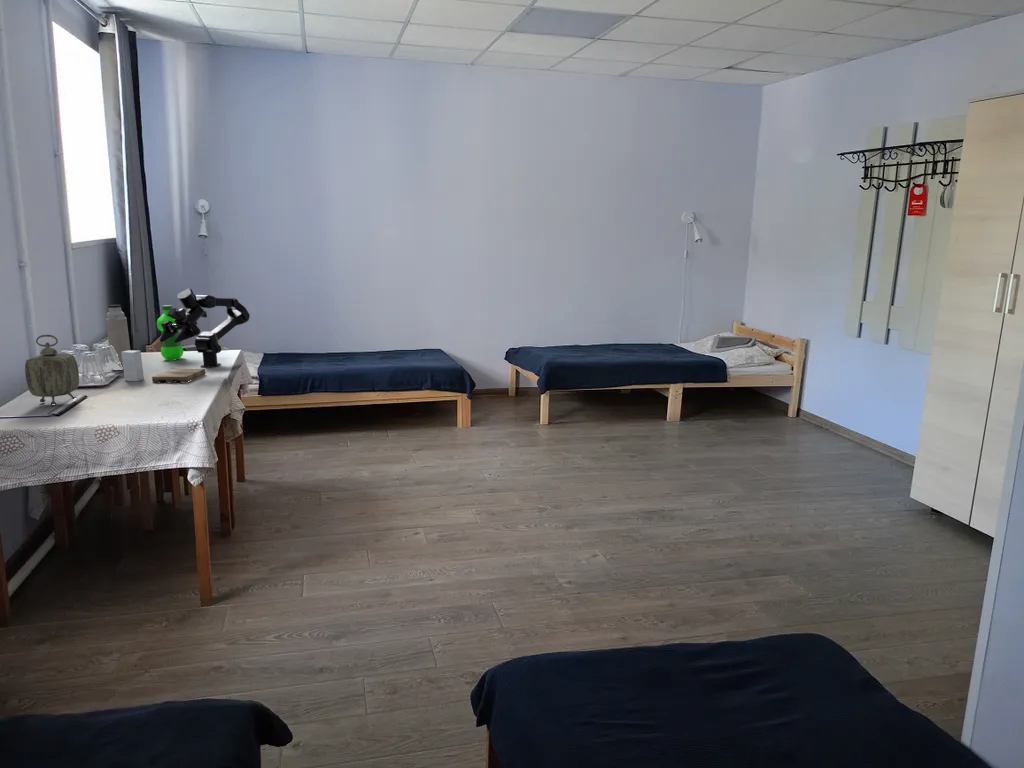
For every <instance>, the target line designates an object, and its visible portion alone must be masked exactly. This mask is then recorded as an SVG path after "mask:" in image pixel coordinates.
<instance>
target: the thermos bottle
mask: <svg viewBox="0 0 1024 768" xmlns="http://www.w3.org/2000/svg"><path fill="white" fill-rule="evenodd" d="M107 307H108V310H107V311H108V312H107V313H106V318H105V324H106V325H105V326H106V333H107V339H108V340H107V341H108V346H109V345H112V346H114V347H115V349H116V352H117V354H118V358H119V361H120V362H121V365H122V367H123V362H122V354H121V352H124V351H128V350H131V344H130V343H131V342H130V336H129V328H128V321H127V319H128V318H127V317H126V316H125V312H123V311H122V305H121V304H109V305H107Z"/></svg>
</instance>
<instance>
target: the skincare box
mask: <svg viewBox="0 0 1024 768" xmlns="http://www.w3.org/2000/svg"><path fill="white" fill-rule="evenodd" d="M121 354H122V362H123V369H124V370H123V376H124V381H125V380H127V381H126V382H141V381H143V380H144V379H145V375H144V368H143V367H144V366H143V361H142V360H143V359H142V352H141V350H133V349H132V350H131V349H130V350H128V351H124V352H121Z"/></svg>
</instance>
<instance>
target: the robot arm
mask: <svg viewBox="0 0 1024 768" xmlns="http://www.w3.org/2000/svg"><path fill="white" fill-rule="evenodd" d="M176 296H177V299H178V300H179V301H180V303H181V304H182V306H183V308H174V307H172V308H170V309H169V311H168V313H167V316H170V317H171V318H173V319H174V320H173V321H174V322H175V323H176V324H173V322H172V321H163V322H162V323H161V325H162V327H163V333H162V336H161V335H160V338H159V342H160V343H162V342H163V341H165V340H167V339H169V338H171V337H172V336H174V334H176V333H177V332H178V330H179V335H178V336H177V337H176V339H175V340H174V342H175V343H178V342H180V343H181V342H183V341H185V340H187V339H191V338H194V337H196V338H195V340H194V346H195V348H196V350H197V353H201V354H202V359H203V361H202V362H203V364H202V365H200V368H215V367H218V366H220V365H222V363H221V362H219V363H218V355H217V354H219V353H221V352H222V346H221V345H220V344H219V341H220V340H221V339H222V338H223V337H224V336H225V335H227V334H228V333H229V332H230V331H232V330H233V329H234V328H235V327H236V326H239V325H240V326H241V325H243V324H245V323H247V322H248V321H249V320H250V318H251V317H250V313H249V311H248V310H247V308H246V307H245V306H244V305H243V304H242V303H240V302H239V300H238V299H237V298H235V297H227V298H222V297H215V296H213V295H210V294H196V295H195V293H194V292H193V290H192V288H186V289H185V290H183V291H181V292H178V294H177V295H176ZM216 307H226V314H227V319H225V320H224V321H222V322H221V323H220V324H219V325H218V326H216V327H215V328H213V329H212V330H211V331H201V329H200V328H199V326H198V321H199V319H200V318H205V319H206V318H207V317H208V314H207V313H208V311H206V310H205V309H213V308H216ZM233 308H235V309H233ZM186 309H187V310H186Z"/></svg>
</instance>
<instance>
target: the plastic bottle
mask: <svg viewBox="0 0 1024 768" xmlns="http://www.w3.org/2000/svg"><path fill="white" fill-rule="evenodd" d="M161 307H162V311H163V314H162V315H161V316H159V318H157V321H156V327H157V330H158V331H160V337H161V336H162V333H163V327H162V325H161V323H162V322H163V321H172V322H173V324H176V323H175V322H174V321H173V320H174V319H173V318H171V317H170V316H167V313H168V311H169V309H170V308H173V305H172V304H164V305H161ZM179 333H180V330H178V332H177V333H176V334H174V336H172V337H171V338H169V339H167V340H165V341H163V342H161V344H162V346H161V348H160V355H161V356H162V357H163V358H164V359H165V360H167V359H168V360H167V361H175V360H174V359H178V358H179V359H181V358H182V356H183V355H184V348H183V346H182V345H181V341H180V342H178V343H175V342H174V340H175V339H176V337H177V336H178V335H179ZM179 359H178V360H179Z"/></svg>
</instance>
